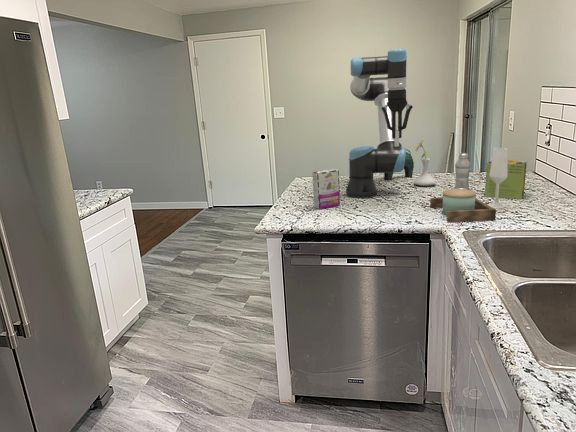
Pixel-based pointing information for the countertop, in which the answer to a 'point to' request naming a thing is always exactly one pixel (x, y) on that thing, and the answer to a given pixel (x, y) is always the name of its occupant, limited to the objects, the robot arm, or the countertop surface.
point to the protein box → (508, 181)
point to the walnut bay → (467, 212)
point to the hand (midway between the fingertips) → (396, 145)
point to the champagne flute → (498, 172)
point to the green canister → (458, 200)
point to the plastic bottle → (462, 172)
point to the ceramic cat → (407, 167)
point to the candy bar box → (326, 188)
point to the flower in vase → (424, 170)
